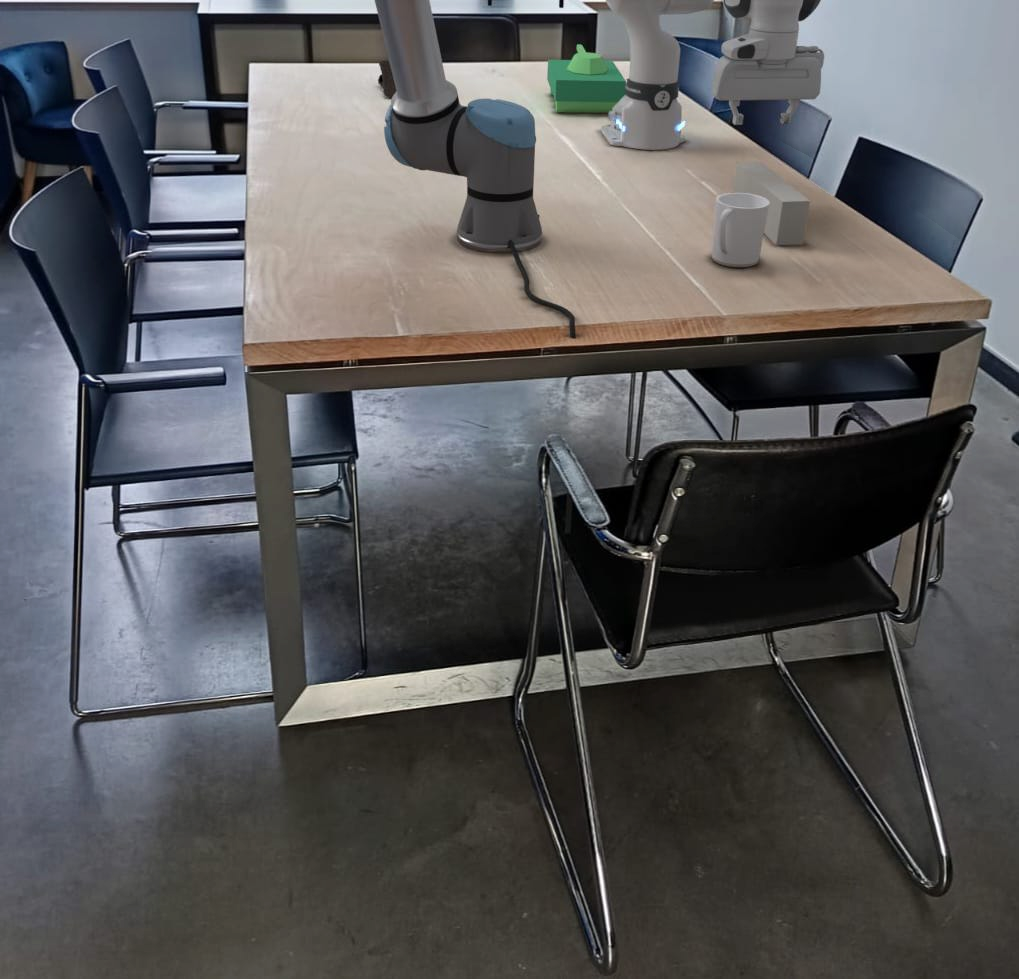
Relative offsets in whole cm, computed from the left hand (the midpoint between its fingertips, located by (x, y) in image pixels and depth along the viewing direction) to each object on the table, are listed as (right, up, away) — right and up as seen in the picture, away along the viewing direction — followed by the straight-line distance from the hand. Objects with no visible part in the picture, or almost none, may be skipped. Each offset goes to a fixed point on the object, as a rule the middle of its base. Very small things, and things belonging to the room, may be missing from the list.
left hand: (525, 6), depth 208 cm
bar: (+46, -41, 0) cm, 62 cm away
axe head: (-32, +17, +92) cm, 99 cm away
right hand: (+45, -23, -1) cm, 50 cm away
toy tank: (+16, +13, +86) cm, 89 cm away
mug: (+35, -53, -20) cm, 67 cm away
